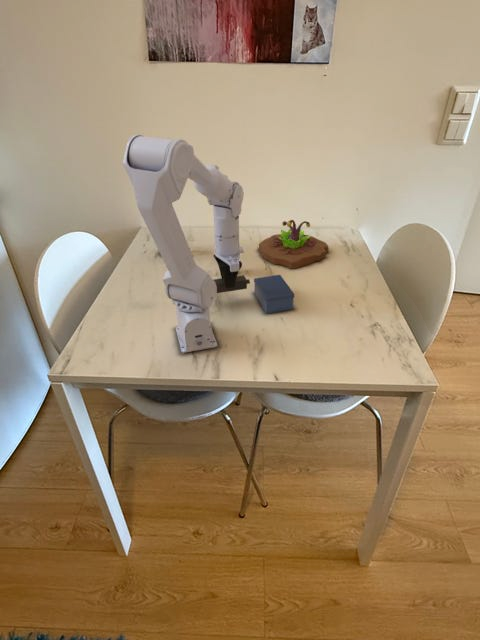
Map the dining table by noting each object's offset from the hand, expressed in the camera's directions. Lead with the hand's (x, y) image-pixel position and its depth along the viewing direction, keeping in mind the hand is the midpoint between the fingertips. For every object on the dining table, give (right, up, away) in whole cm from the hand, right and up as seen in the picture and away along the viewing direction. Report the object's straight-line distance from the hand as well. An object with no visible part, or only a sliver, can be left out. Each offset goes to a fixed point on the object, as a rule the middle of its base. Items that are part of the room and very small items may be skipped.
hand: (228, 284), depth 103 cm
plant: (+19, +12, +26) cm, 35 cm away
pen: (0, -1, +1) cm, 1 cm away
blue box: (+11, -4, +3) cm, 13 cm away
